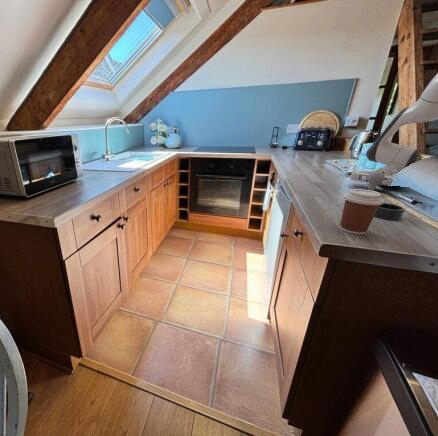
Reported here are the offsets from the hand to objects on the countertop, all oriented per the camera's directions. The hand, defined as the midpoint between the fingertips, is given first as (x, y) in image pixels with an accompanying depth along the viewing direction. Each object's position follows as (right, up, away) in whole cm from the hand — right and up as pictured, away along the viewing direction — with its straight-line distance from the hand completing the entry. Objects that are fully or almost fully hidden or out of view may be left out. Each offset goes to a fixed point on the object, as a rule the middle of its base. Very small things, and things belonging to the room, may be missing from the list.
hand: (373, 181), depth 106 cm
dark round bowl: (-16, -15, -22) cm, 31 cm away
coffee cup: (-36, -20, -31) cm, 51 cm away
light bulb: (+1, -5, +3) cm, 6 cm away
